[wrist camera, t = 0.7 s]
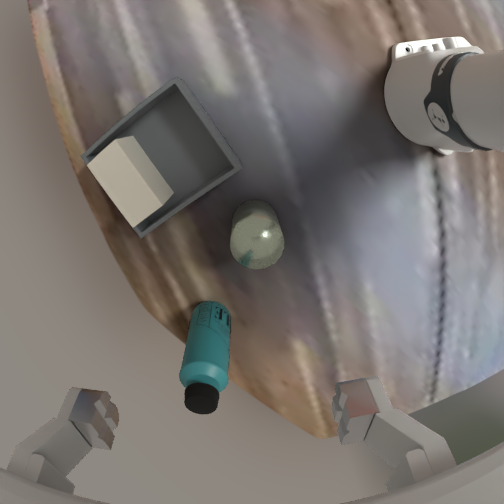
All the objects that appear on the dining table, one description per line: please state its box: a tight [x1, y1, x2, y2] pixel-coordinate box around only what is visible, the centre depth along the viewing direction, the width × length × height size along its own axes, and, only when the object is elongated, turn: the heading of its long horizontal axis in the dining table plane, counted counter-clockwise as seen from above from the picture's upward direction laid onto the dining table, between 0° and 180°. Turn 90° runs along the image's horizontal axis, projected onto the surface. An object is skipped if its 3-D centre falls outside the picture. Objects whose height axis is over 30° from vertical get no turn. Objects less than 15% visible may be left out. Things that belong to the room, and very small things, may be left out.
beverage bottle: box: [179, 301, 231, 414], centre depth 42 cm, size 6×7×20 cm
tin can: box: [230, 200, 285, 269], centre depth 41 cm, size 6×6×8 cm
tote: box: [81, 77, 242, 238], centre depth 38 cm, size 16×14×5 cm
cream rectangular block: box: [87, 136, 174, 228], centre depth 38 cm, size 5×10×6 cm, turn 33°
